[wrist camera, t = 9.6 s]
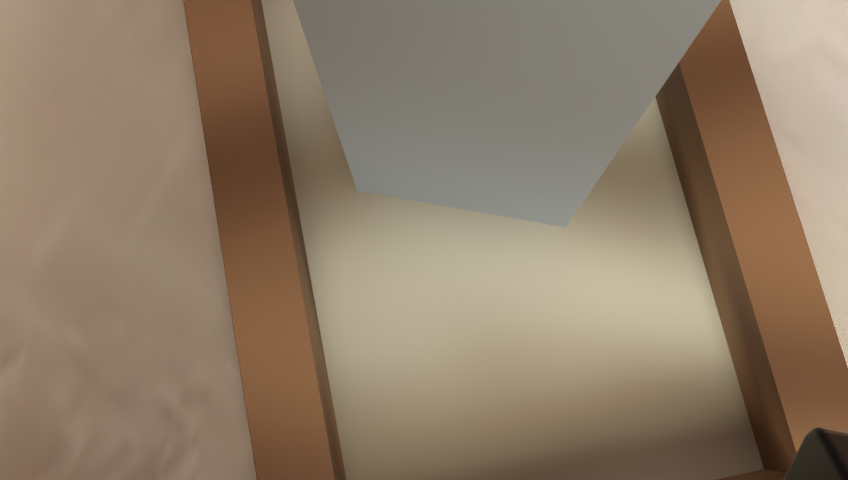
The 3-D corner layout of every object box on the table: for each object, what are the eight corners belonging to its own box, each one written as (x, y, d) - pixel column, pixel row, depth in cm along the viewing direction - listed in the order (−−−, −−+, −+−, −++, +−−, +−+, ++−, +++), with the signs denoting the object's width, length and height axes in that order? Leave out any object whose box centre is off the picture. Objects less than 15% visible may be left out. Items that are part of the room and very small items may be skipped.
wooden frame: (838, 522, 18) (902, 538, 15) (307, 639, 17) (287, 674, 15) (619, -191, 22) (642, -269, 19) (187, -111, 21) (156, -179, 19)
